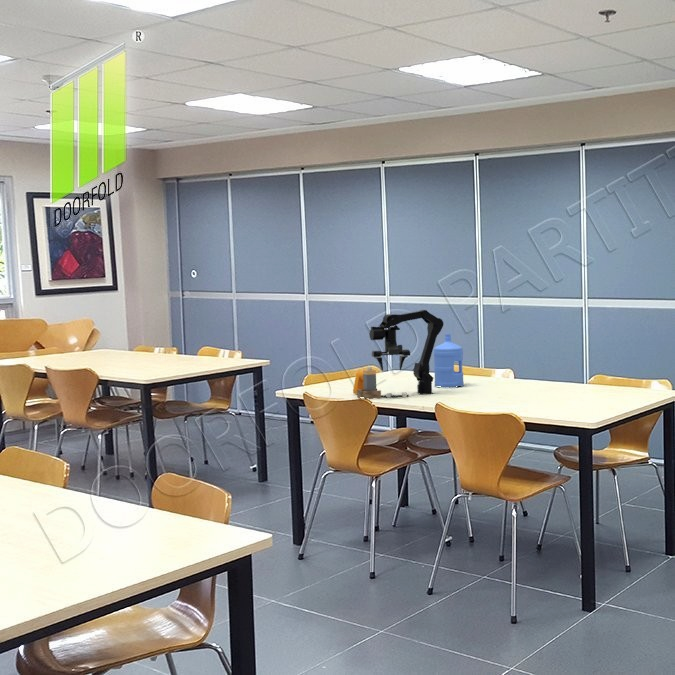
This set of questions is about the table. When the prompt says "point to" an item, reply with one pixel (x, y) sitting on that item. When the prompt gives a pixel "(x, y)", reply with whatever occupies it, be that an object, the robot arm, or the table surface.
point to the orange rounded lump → (358, 382)
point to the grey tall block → (369, 379)
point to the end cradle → (368, 394)
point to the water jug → (448, 364)
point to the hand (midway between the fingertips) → (391, 370)
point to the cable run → (393, 395)
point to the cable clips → (391, 394)
